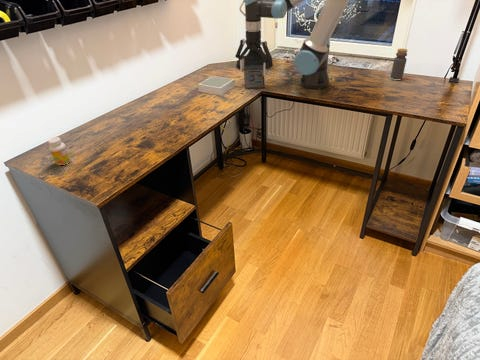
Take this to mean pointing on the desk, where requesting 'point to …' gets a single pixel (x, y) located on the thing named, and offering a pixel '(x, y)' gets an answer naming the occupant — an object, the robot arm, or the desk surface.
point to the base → (216, 85)
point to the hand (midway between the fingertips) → (253, 73)
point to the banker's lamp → (252, 56)
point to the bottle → (399, 64)
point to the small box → (254, 77)
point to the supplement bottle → (59, 151)
